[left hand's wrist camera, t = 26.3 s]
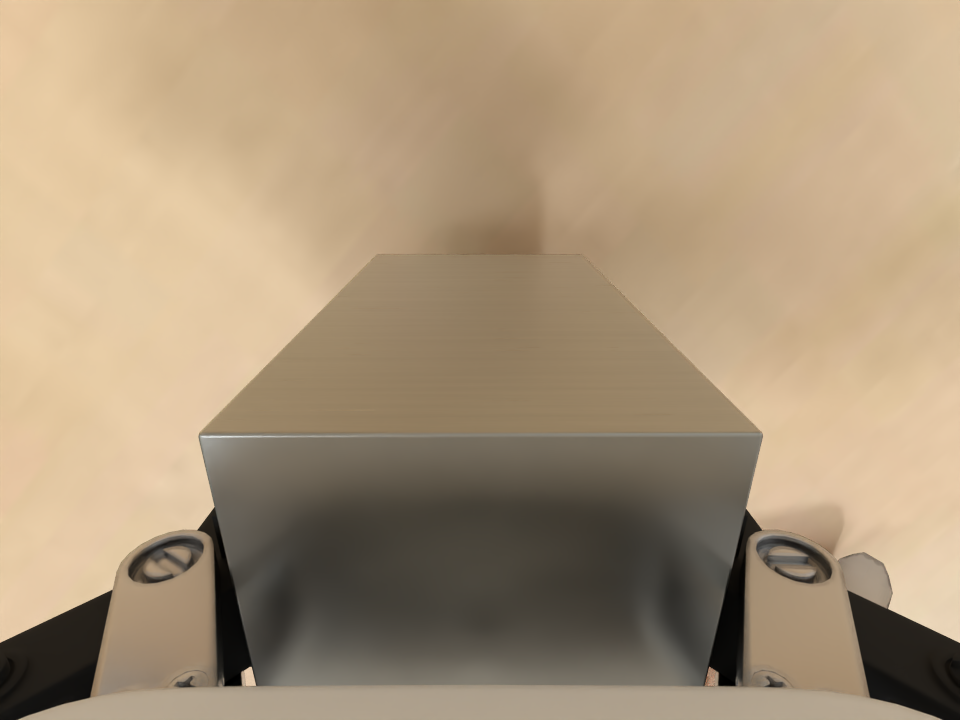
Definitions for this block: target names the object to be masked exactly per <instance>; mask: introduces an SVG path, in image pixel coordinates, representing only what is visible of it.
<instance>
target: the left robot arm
mask: <svg viewBox="0 0 960 720" xmlns="http://www.w3.org/2000/svg"><path fill="white" fill-rule="evenodd" d="M249 667H252V665H251V661H250V657H249V652H248V648H247V644H246V639H245V635H244V631H243V626H242V622H241V618H240V613H239V609H238V605H237V600H236V596H235V592H234V588H233V583H232V579H231V575H230V570H229V566H228V562H227V557H226V553H225V549H224V544H223V540H222V536H221V532H220V527H219V523H218V519H217V514H216V510H215V507H214V509H213V510H212V511H211V513H210V514H209V515H208V517H207V518H206V519H205V521H204V522H203V523H202V525H201V526H200V527H199V529H198V530H179V531H174V532H169V533H166V534H163V535H160V536H157V537H155V538H153V539H151V540H149V541H147V542H145V543H143V544H141V545H140V546H138V547H137V548H136V549H134V550H133V551H132V552H130V553H129V554H128V555H127V556H126V558H125V559H124V560H123V561H122V562H121V564H120V566H119V568H118V570H117V573H116V577H115V582H114V587H113V590H111V591H109V592H107V593H105V594H103V595H101V596H98V597H96V598H94V599H92V600H90V601H88V602H86V603H84V604H81V605H79V606H77V607H75V608H73V609H71V610H69V611H67V612H65V613H62V614H60V615H58V616H56V617H54V618H52V619H50V620H48V621H46V622H43V623H41V624H39V625H37V626H35V627H33V628H31V629H29V630H26V631H24V632H22V633H20V634H18V635H16V636H14V637H12V638H10V639H7V640H5V641H3V642H1V643H0V720H960V643H959V642H957V641H954V640H952V639H950V638H948V637H946V636H944V635H942V634H940V633H937V632H935V631H933V630H931V629H929V628H927V627H925V626H923V625H921V624H918V623H916V622H914V621H912V620H910V619H908V618H906V617H904V616H902V615H899V614H897V613H895V612H893V611H891V610H889V609H887V608H885V607H882V606H880V605H878V604H876V603H874V602H872V601H870V600H868V599H866V598H863V597H861V596H859V595H857V594H855V593H853V592H851V591H849V590H847V587H846V582H845V577H844V573H843V570H842V568H841V566H840V564H839V562H838V561H837V560H836V559H835V558H834V556H833V555H832V554H831V553H830V552H828V551H827V550H826V549H824V548H823V547H822V546H820V545H819V544H817V543H815V542H813V541H811V540H809V539H807V538H805V537H803V536H800V535H797V534H794V533H791V532H786V531H781V530H763V531H762V529H761V528H760V527H759V525H758V524H757V523H756V521H755V520H754V519H753V517H752V516H751V515H750V513H749V512H748V511H747V509H746V510H745V515H744V519H743V523H742V527H741V532H740V536H739V540H738V545H737V549H736V553H735V557H734V562H733V566H732V570H731V574H730V579H729V583H728V587H727V591H726V596H725V600H724V604H723V609H722V613H721V617H720V621H719V626H718V630H717V634H716V638H715V643H714V647H713V651H712V656H711V660H710V664H709V667H711V668H713V669H714V670H716V673H715V683H714V686H623V685H337V686H246V683H245V673H244V670H246V669H247V668H249Z"/></svg>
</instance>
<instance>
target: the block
mask: <svg viewBox="0 0 960 720" xmlns="http://www.w3.org/2000/svg"><path fill="white" fill-rule="evenodd" d="M762 438H763V435H762V432H761V431H760V430H759V429H758V428H757V427H756V426H755V425H754V424H753V423H752V422H751V421H750V420H749V419H748V418H747V417H746V416H745V415H744V414H743V413H742V412H741V411H740V410H739V409H738V408H737V407H736V406H735V405H734V404H733V403H732V402H731V401H730V400H729V399H728V398H727V397H726V396H725V395H724V394H723V393H722V392H721V391H720V390H719V389H717V388H716V387H715V386H714V385H713V384H712V383H711V382H710V381H709V380H708V379H707V378H706V377H705V376H704V375H703V374H702V373H701V372H700V371H699V370H698V369H697V368H696V367H695V366H694V365H693V364H692V363H691V362H690V361H689V360H688V359H687V358H686V357H685V356H684V355H683V354H682V353H681V352H680V351H679V350H678V349H677V348H676V347H675V346H674V345H673V344H672V343H671V342H670V341H669V340H668V339H667V338H666V337H665V336H664V335H663V334H662V333H661V332H660V331H659V330H658V329H657V328H656V327H655V326H654V325H653V324H652V323H651V322H650V321H649V320H648V319H647V318H646V317H645V316H644V315H643V314H642V313H641V312H640V311H639V310H638V309H637V308H636V307H635V306H634V305H632V304H631V303H630V302H629V301H628V300H627V299H626V298H625V297H624V296H623V295H622V294H621V293H620V292H619V291H618V290H617V289H616V288H615V287H614V286H613V285H612V284H611V283H610V282H609V281H608V280H607V279H606V278H605V277H604V276H603V275H602V274H601V273H600V272H599V271H598V270H597V269H596V268H595V267H594V266H593V265H592V264H591V263H590V262H589V261H588V260H587V259H586V258H585V257H584V256H583V255H582V254H377V255H376V256H375V257H374V258H373V259H372V260H371V261H370V262H369V263H368V264H367V265H366V266H365V267H364V268H363V269H362V270H361V271H360V272H359V273H358V274H357V275H356V276H355V277H354V278H353V279H352V280H351V281H350V282H349V283H348V284H347V285H346V286H345V287H344V288H343V289H342V290H341V291H340V292H339V293H338V294H337V295H336V296H335V297H334V298H333V299H332V300H331V301H330V302H329V303H328V304H327V305H326V306H325V307H324V308H323V309H322V310H321V311H320V312H319V313H318V314H317V315H316V316H315V317H314V318H313V319H312V320H311V321H310V322H309V323H308V324H307V325H306V326H305V327H304V328H303V329H302V330H301V331H300V332H299V333H298V334H297V335H296V336H295V337H294V338H293V339H292V340H291V341H290V342H289V343H288V344H287V345H286V346H285V347H284V348H283V349H282V350H281V351H280V352H279V353H278V354H277V355H276V356H275V357H274V358H273V359H272V360H271V361H270V362H269V363H268V364H267V365H266V366H265V368H264V369H263V370H262V371H261V372H260V373H259V374H258V375H257V376H256V377H255V378H254V379H253V380H252V381H251V382H250V383H249V384H248V385H247V386H246V387H245V388H244V389H243V390H242V391H241V392H240V393H239V394H238V395H237V396H236V397H235V398H234V399H233V400H232V401H231V402H230V403H229V404H228V405H227V406H226V407H225V408H224V409H223V410H222V411H221V412H220V413H219V414H218V415H217V416H216V417H215V418H214V419H213V420H212V421H211V422H210V423H209V424H208V425H207V426H206V427H205V428H204V429H203V430H202V431H201V432H200V433H199V441H200V445H201V450H202V454H203V458H204V463H205V467H206V471H207V475H208V480H209V484H210V488H211V493H212V497H213V501H214V506H215V510H216V514H217V519H218V523H219V527H220V532H221V536H222V540H223V544H224V549H225V553H226V557H227V562H228V566H229V570H230V575H231V579H232V583H233V588H234V592H235V596H236V600H237V605H238V609H239V613H240V618H241V622H242V626H243V631H244V635H245V639H246V644H247V648H248V652H249V657H250V661H251V665H252V669H253V674H254V678H255V682H256V686H337V685H623V686H704V685H705V681H706V677H707V673H708V668H709V664H710V660H711V656H712V651H713V647H714V643H715V638H716V634H717V630H718V626H719V621H720V617H721V613H722V609H723V604H724V600H725V596H726V591H727V587H728V583H729V579H730V574H731V570H732V566H733V562H734V557H735V553H736V549H737V545H738V540H739V536H740V532H741V527H742V523H743V519H744V515H745V510H746V506H747V502H748V498H749V493H750V489H751V485H752V480H753V476H754V472H755V468H756V463H757V459H758V455H759V451H760V446H761V442H762Z"/></svg>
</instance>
